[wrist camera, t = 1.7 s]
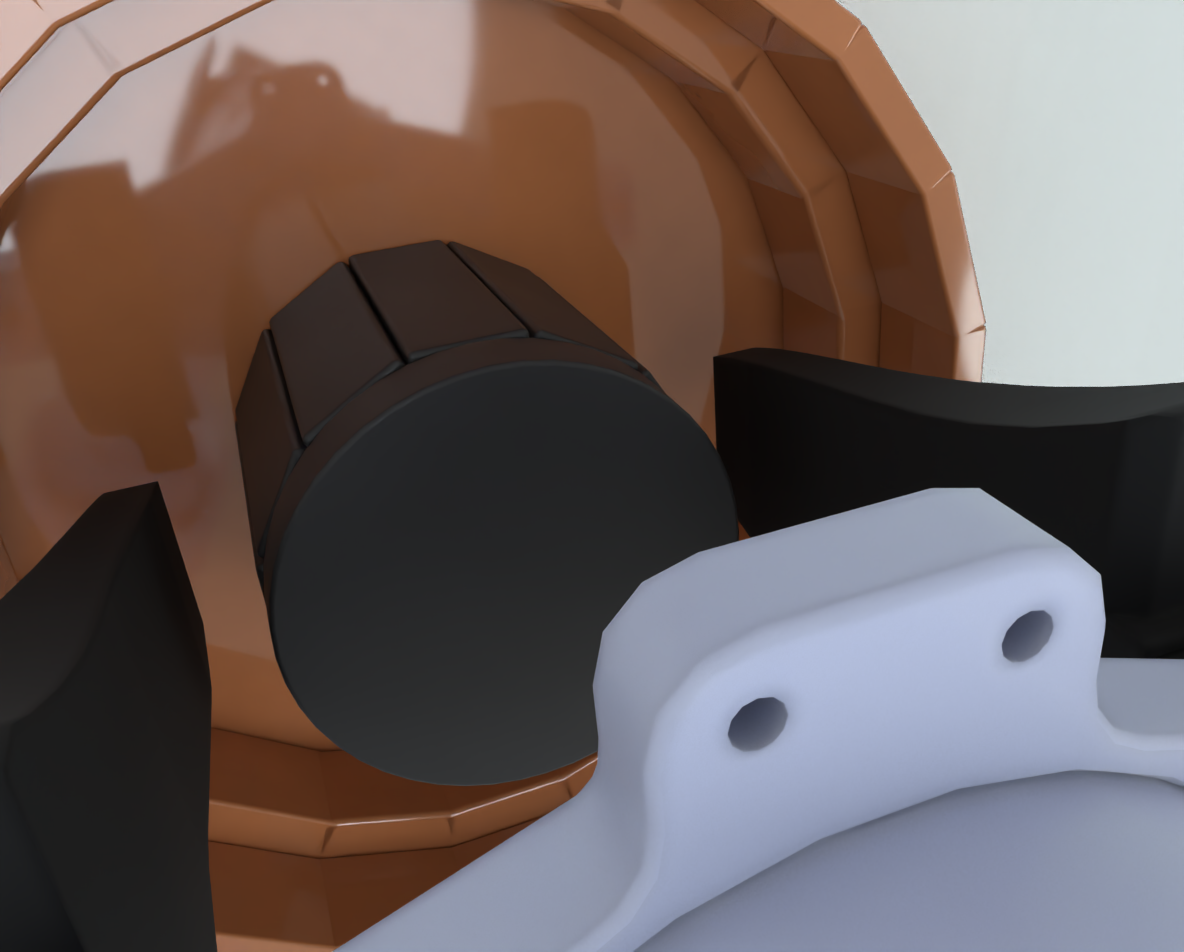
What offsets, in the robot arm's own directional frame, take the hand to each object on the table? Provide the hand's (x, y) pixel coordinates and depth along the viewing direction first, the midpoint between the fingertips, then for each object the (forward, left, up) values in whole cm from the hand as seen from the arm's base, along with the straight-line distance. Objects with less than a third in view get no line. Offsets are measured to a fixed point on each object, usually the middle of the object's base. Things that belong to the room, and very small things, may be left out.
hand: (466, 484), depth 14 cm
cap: (0, 0, -2) cm, 2 cm away
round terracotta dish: (0, 0, -3) cm, 3 cm away
